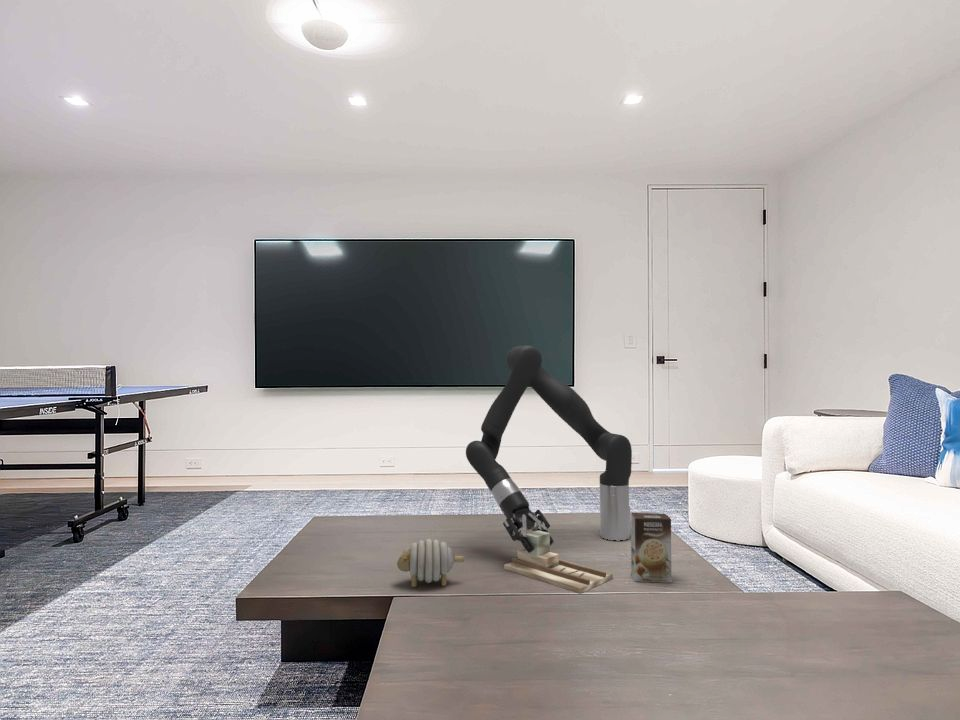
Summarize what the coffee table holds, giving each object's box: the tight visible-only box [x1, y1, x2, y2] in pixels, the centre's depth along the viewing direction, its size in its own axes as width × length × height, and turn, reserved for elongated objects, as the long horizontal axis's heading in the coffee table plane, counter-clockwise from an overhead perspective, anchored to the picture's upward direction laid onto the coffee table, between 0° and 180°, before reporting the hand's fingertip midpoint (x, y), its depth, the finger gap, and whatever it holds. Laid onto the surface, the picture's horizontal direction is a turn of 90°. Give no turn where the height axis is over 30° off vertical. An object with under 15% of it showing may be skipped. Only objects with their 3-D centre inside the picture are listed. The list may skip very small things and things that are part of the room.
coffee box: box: [630, 512, 673, 584], centre depth 147 cm, size 9×6×16 cm
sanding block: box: [516, 530, 560, 568], centre depth 155 cm, size 6×10×8 cm, turn 45°
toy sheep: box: [396, 538, 465, 588], centre depth 144 cm, size 11×17×11 cm, turn 100°
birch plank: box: [503, 557, 614, 594], centre depth 150 cm, size 14×25×2 cm, turn 45°
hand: (541, 547), depth 154 cm, fingers open, 7 cm apart
